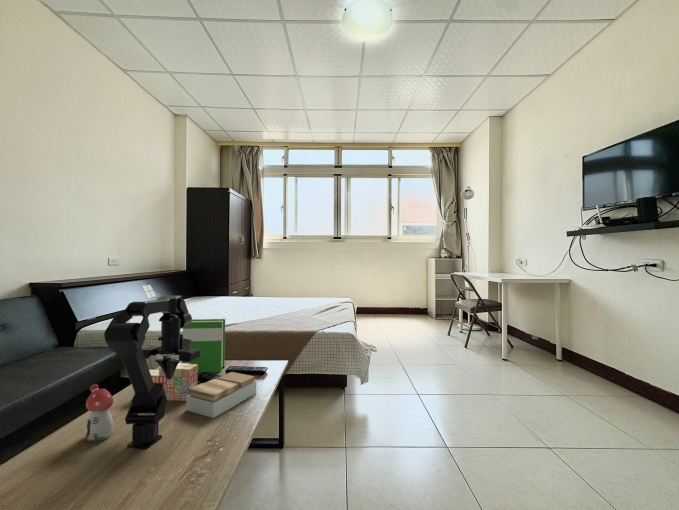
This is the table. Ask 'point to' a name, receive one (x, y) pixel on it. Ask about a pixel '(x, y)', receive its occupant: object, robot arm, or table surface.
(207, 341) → the hardback book
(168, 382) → the stack of blocks
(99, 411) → the decorative ornament
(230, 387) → the board
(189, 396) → the white box
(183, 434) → the table surface
